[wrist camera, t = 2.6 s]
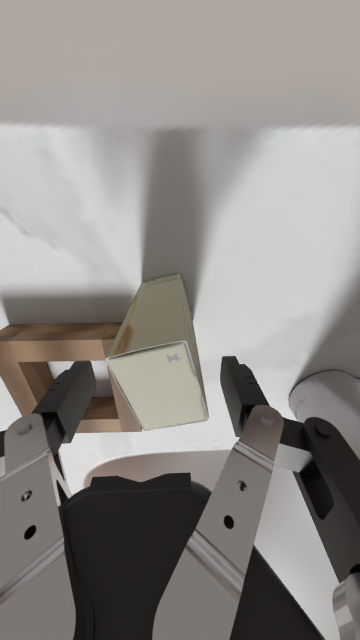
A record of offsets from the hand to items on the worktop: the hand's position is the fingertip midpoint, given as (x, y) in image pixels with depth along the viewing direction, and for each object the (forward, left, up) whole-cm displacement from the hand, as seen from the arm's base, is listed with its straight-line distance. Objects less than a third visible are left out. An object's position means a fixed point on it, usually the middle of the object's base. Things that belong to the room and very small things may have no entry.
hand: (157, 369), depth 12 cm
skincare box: (0, 0, -11) cm, 11 cm away
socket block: (+11, +9, -10) cm, 17 cm away
